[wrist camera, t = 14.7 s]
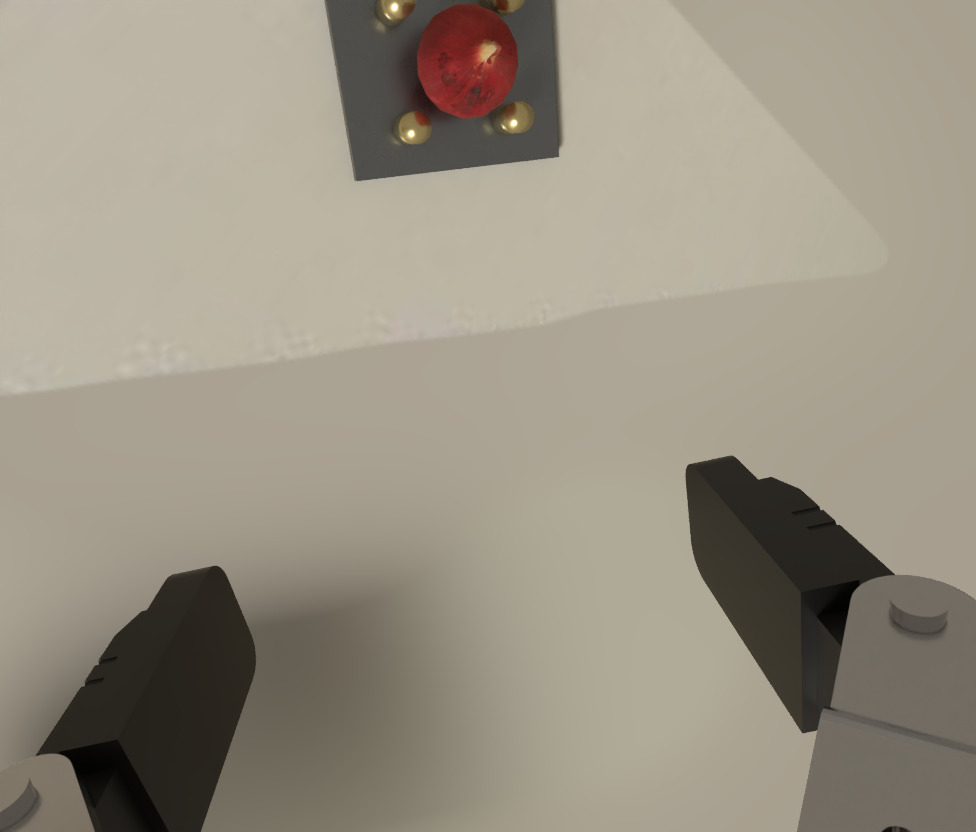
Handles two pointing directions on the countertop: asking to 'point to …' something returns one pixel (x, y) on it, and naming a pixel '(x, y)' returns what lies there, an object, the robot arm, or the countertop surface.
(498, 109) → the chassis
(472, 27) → the onion
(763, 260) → the countertop surface
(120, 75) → the countertop surface
